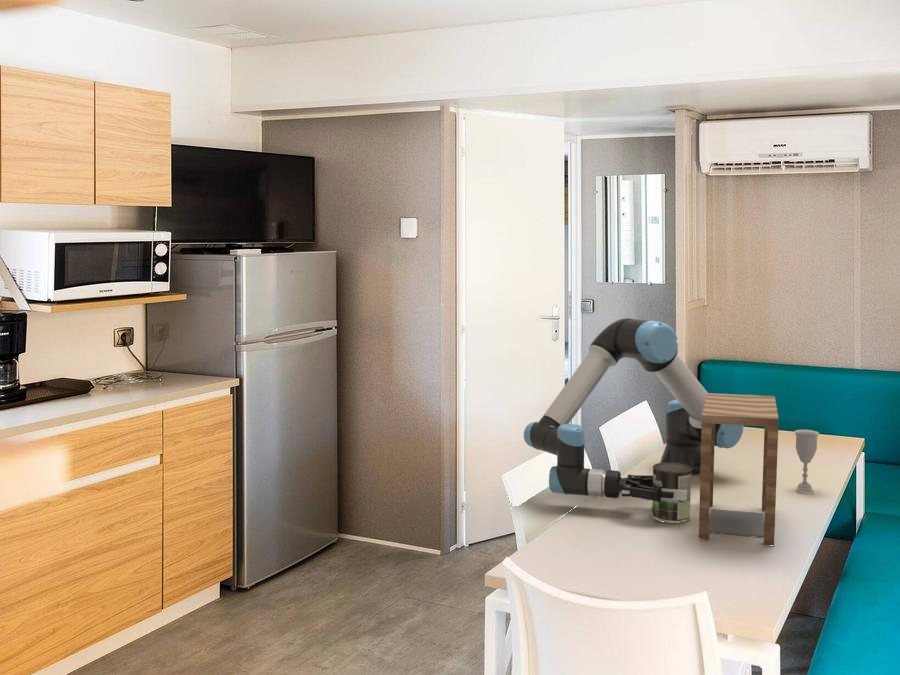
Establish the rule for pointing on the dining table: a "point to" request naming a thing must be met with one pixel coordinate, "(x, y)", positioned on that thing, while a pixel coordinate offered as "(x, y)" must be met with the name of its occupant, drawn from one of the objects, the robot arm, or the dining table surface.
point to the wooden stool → (763, 414)
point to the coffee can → (672, 478)
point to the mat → (736, 522)
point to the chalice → (805, 455)
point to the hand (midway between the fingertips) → (687, 490)
